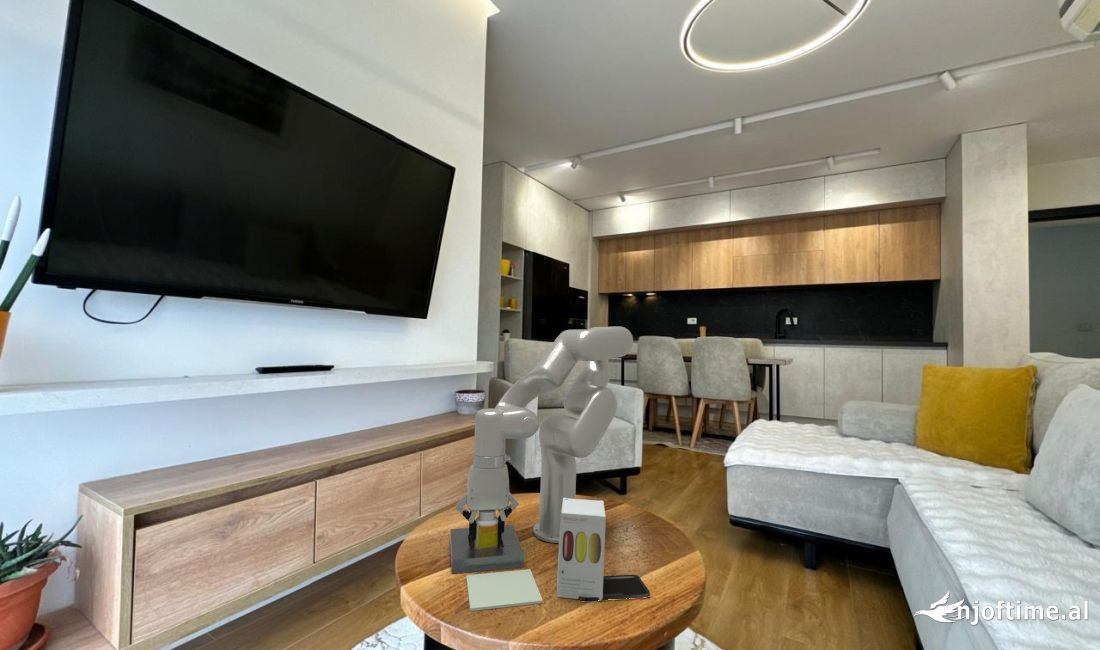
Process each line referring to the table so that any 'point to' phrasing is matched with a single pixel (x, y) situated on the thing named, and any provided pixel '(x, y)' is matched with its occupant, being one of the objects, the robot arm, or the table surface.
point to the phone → (621, 588)
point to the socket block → (485, 552)
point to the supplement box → (581, 549)
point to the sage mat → (502, 590)
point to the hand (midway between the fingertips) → (486, 536)
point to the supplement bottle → (486, 530)
